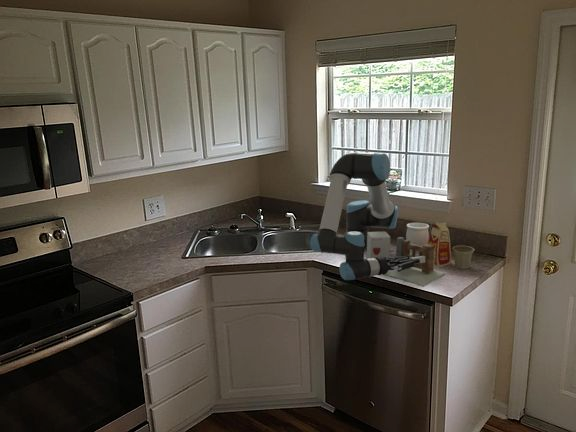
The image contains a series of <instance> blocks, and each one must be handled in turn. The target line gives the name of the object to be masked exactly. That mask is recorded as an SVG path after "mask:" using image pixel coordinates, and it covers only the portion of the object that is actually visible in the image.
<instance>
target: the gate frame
mask: <svg viewBox="0 0 576 432" xmlns="http://www.w3.org/2000/svg"><path fill="white" fill-rule="evenodd" d="M404 240H405V237H402V236H399V237H396V255H395V257H400V256H403V241H404ZM434 258H435V248H434ZM444 275H446V274H445V272H442V271H438V270H436V269H435V266H434V262H433V272H431V273H429V274H428V273H425V272H422V269H419V268H415V267H411V268H408V269H405V270H402V271H400V272H398V271H397V269H394V270H388V272H387V273H386V274H384V275H383V276H384V277H388V278H391V279H395V280H398V281H402V282H405V283H409V284H413V285H415V286H418V287H422V288H424V287H426V286H427V285H429V284H431V283H432V282H435V281H436V280H437V279H440V278H441V277H443V276H444Z"/></svg>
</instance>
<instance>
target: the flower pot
mask: <svg viewBox="0 0 576 432" xmlns="http://www.w3.org/2000/svg"><path fill="white" fill-rule="evenodd" d="M451 248H452V250H453V251H452V252H453V258H454V267H455V268H457V269H463V270H467V269H469V268H470V266H471V261H472V256H473V254H474V252H475V248H474V247H472V246H467V245H456V246H453V247H451Z"/></svg>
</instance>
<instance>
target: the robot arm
mask: <svg viewBox="0 0 576 432" xmlns="http://www.w3.org/2000/svg"><path fill="white" fill-rule="evenodd" d="M390 175H391V161H390V158H389V156H388V154H386V152H385V153H384V152H383V153H382V152H357V151H355V152H354V151H351V152H347V153H345V154H343V155H342V156H340V157H339V158H338V160H337V161H336V162H335V163H334V164H333V166H332V168H331V169H330V173H329V176H328V180H329V181H330V182H329V186H328V190H327V191H328V192H327V195H326V199H325V204H324V207H323V212H322V216H321V221H320V225H319V230H318V233H313V234H312V235H311V238H310V248H311V250H312V251H313V252H315V253H321V254H323V253H324V254H334V255H343V256H345V261H343V262H341V263H340V264H339V269H338V270H339V274H340V277H341V279H343V281H352V280H353V281H354V280H359V279H363V278H365V279H366V278H371V277H376V276H384V274H386V273H387V272H388V270H394V269H397V271H398V272H400V271H402V270H405V269H408V268H411V267H414V264H419V263H425V256H417V257H412V256H408V257H406V256H400V257H396V256H390V257H376V258H368V259H367V258H365V249H367V232H370V228H380V229H387V230H388V229H395V228H396V227H397V222H398V218H399V217H398V216H399V206H397V205H396V204H395V205H394V203H393V202H392V201H391V200H390V195H389V193H388V188H387V182H386V181H387V180H388V179H389V178H390ZM353 179H356V180H359V179H360V180H361V181H362V183H363V184H364V185H365V186H367V191H368V194H369V198H370V201H371V203H370V201H369V200H366V199H365V200H363V199H362V200H355V201H351V202H349V203H347V205H346V212H345V213H346V217H345V218H346V221H345V222H346V231H345V234H344V236H343V235H337V233H338V229H339V225H340V221H341V216H342V210H343V205H344V202H345V196H346V193H347V188H348V186H349V185H351V181H352V180H353Z"/></svg>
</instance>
